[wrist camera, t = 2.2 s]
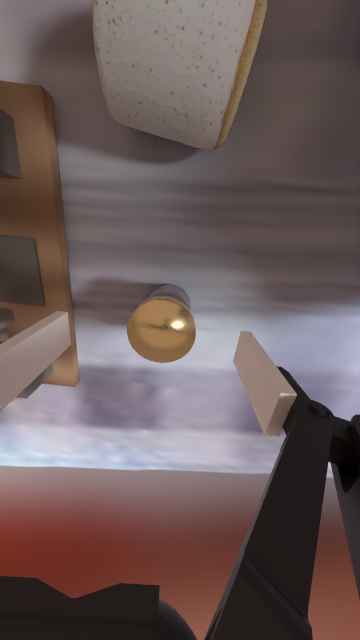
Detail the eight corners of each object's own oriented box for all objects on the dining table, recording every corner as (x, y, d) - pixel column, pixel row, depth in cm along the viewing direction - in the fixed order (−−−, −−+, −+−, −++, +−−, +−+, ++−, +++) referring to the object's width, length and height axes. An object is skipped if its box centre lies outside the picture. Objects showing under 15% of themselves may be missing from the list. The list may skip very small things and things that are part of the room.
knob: (171, 271, 21) (165, 286, 14) (202, 309, 22) (209, 339, 16) (134, 301, 22) (112, 328, 16) (165, 336, 24) (157, 373, 17)
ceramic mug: (217, 170, 17) (240, 118, 10) (123, 142, 17) (78, 68, 10) (265, -14, 13) (356, -306, 6) (146, -58, 13) (97, -431, 6)
